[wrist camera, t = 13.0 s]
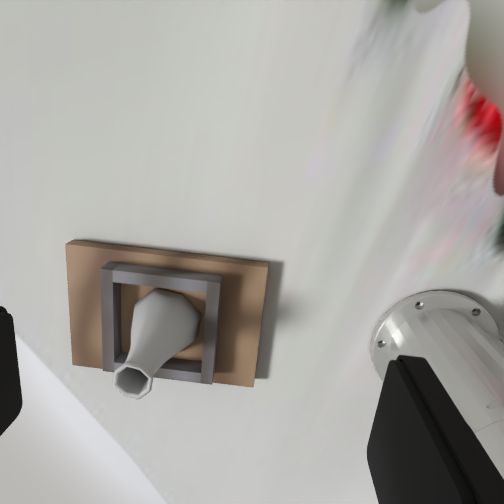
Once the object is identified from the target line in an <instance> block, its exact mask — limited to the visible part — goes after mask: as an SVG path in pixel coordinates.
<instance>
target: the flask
mask: <svg viewBox="0 0 504 504" xmlns="http://www.w3.org/2000/svg"><path fill="white" fill-rule="evenodd" d="M200 320H201V314H200V313H199V312H198V311H197V310H196V308H195V307H194V306H193V305H192V304H191V303H190V302H189V301H188V300H187V299H186V298H185V297H184V296H183V295H182V294H177V293H173V292H169V291H165V290H160V289H156V288H154V289H153V290H151V291H150V292H149V293H148V294H147V295H145V296H144V297H143V298H142V299H140V300H139V301H138V302H137V303H136V304H135V306H134V313H133V320H132V327H131V347H130V351H129V354H128V357H127V359H126V361H125V363H124V364H123V365H121V366H120V367H119V368H117V369H116V370H115V372H114V378H113V386H114V387H115V388H116V389H117V390H118V391H119V392H120V393H121V394H123V395H124V396H127V397H132V398H136V399H140V398H142V397H143V396H144V395H146V394H147V393H149V392H150V391H151V388H152V382H153V377H154V375H155V373H156V372H157V371H158V370H159V368H160V367H161V366H162V365H163V364H164V363H165V362H166V361H167V360H169V359H170V358H171V357H173V356H174V355H176V354H177V353H178V352H180V351H181V350H182V349H184V348H185V347H186V346H188V345H189V344H190V343H192V342H193V341H194V340H196V339H197V334H198V330H199V325H200Z"/></svg>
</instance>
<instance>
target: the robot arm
mask: <svg viewBox="0 0 504 504" xmlns="http://www.w3.org/2000/svg"><path fill="white" fill-rule="evenodd" d="M417 302H418V303H417ZM416 303H417V304H416ZM371 357H372V361H373V364H374V367H375V370H376V371H377V373H378V375H379V377H380V378H381V380H382V381H383V386H382V390H381V394H380V398H379V402H378V406H377V410H376V414H375V418H374V422H373V426H372V430H371V434H370V438H369V442H368V446H367V460H368V465H369V469H370V472H371V476H372V480H373V484H374V487H375V491H376V495H377V498H378V502H379V504H504V344H503V343H502V342H501V341H500V336H499V331H498V328H497V325H496V323H495V321H494V319H493V318H492V316H491V315H490V314H489V313H488V312H487V310H486V309H485V308H484V307H482V306H481V305H480V304H479V303H478V302H476V301H475V300H473V299H471V298H469V297H467V296H466V295H462V294H459V293H456V292H450V291H428V292H424V293H419V294H416V295H413V296H411V297H408V298H406V299H404V300H402V301H401V302H399V303H397V304H396V305H394V306H393V307H392V308H391V309H390V310H389V311H388V312H386V314H385V315H384V316H383V317H382V319H381V320H380V321H379V323H378V324H377V326H376V328H375V330H374V333H373V336H372V340H371ZM21 408H22V394H21V385H20V376H19V368H18V358H17V350H16V341H15V332H14V323H13V317H12V316H11V314H9V313H8V312H7V310H6V309H5V308H4V307H2V306H0V436H1V435H2V433H3V432H4V431H5V430H6V429H7V428H8V427H9V426H10V425H11V423H12V422H13V421H14V420H15V419H16V418H17V416H18V415H19V413H20V410H21Z"/></svg>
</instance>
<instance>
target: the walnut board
mask: <svg viewBox="0 0 504 504" xmlns="http://www.w3.org/2000/svg"><path fill="white" fill-rule="evenodd" d="M65 246H66V262H67V279H68V296H69V313H70V329H71V346H72V363H73V365H77V366H85V367H93V368H101V369H103V371H107V372H115V370H116V369H117V368H119V367H120V366H121V365H123V364H124V363H125V361H126V359H127V357H128V354H129V351H130V347H131V327H132V320H133V313H134V306H135V304H136V303H137V302H138V301H139V300H140V299H142V298H143V297H144V296H145V295H147V294H148V293H149V292H150V291H151V290H153V289H154V288H156V289H160V290H165V291H169V292H173V293H177V294H182V295H183V296H184V297H185V298H186V299H187V300H188V301H189V302H190V303H191V304H192V305H193V306H194V307H195V308H196V310H197V311H198V312H199V313H200V314H201V320H200V325H199V330H198V334H197V339H196V340H194V341H193V342H192V343H190V344H189V345H188V346H186V347H185V348H184V349H182V350H181V351H180V352H178V353H177V354H176V355H174V356H173V357H171V358H170V359H169V360H167V361H166V362H165V363H164V364H163V365H162V366H161V367H160V368H159V370H158V371H157V372H156V373H155V375H154V377H156V378H164V379H172V380H180V381H188V382H196V383H204V384H212V382H213V383H221V384H229V385H237V386H245V387H254V378H255V370H256V362H257V354H258V346H259V338H260V329H261V321H262V313H263V305H264V297H265V289H266V280H267V272H268V262H260V261H252V260H243V259H235V258H226V257H217V256H209V255H200V254H191V253H183V252H174V251H165V250H157V249H148V248H140V247H131V246H122V245H114V244H105V243H96V242H88V241H79V240H72V241H70V242H68V243H67V244H65Z"/></svg>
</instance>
